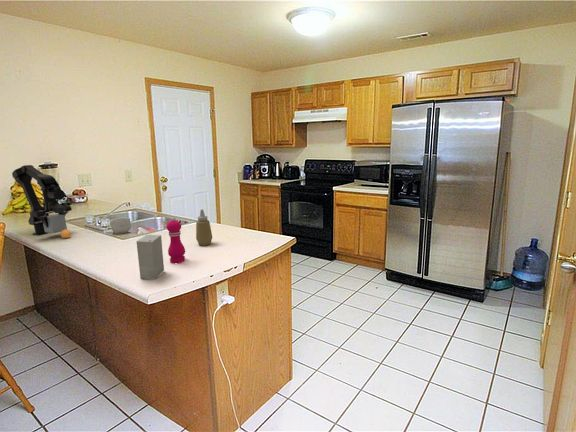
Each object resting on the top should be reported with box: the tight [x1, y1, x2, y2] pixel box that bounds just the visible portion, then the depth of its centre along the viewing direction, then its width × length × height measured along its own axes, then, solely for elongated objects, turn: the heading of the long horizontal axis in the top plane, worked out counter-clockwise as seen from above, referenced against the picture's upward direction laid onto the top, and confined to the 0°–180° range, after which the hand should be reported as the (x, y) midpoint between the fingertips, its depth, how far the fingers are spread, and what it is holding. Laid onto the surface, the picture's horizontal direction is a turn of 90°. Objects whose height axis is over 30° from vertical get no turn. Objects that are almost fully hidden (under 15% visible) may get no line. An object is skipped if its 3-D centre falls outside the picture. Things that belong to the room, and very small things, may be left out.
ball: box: [60, 228, 72, 239], centre depth 190 cm, size 5×5×5 cm
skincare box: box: [136, 234, 165, 280], centre depth 133 cm, size 8×7×16 cm
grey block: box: [43, 213, 68, 234], centre depth 193 cm, size 8×8×9 cm
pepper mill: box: [166, 216, 186, 265], centre depth 148 cm, size 7×7×20 cm
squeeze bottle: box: [195, 209, 213, 247], centre depth 171 cm, size 8×8×18 cm
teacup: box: [109, 216, 132, 235], centre depth 200 cm, size 14×11×8 cm
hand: (55, 225), depth 193 cm, fingers closed on grey block, 8 cm apart
